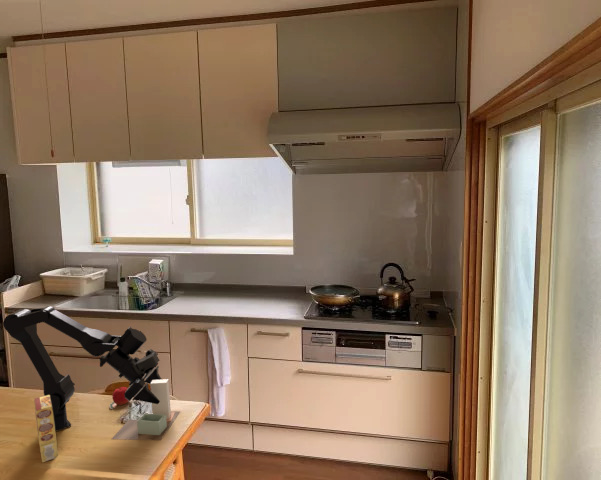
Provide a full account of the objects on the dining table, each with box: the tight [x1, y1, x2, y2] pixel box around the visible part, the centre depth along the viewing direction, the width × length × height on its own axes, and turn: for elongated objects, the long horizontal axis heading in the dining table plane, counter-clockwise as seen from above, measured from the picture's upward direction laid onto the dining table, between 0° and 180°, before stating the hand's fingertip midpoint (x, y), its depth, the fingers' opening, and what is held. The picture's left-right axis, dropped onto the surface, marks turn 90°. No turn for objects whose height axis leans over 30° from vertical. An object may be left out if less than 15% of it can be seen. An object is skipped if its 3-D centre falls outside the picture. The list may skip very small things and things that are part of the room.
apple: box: [108, 386, 129, 410], centre depth 154 cm, size 8×8×6 cm
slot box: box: [137, 413, 167, 435], centre depth 136 cm, size 7×5×4 cm, turn 80°
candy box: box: [33, 395, 59, 463], centre depth 127 cm, size 9×4×15 cm, turn 33°
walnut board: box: [111, 410, 181, 441], centre depth 139 cm, size 15×16×1 cm
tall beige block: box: [149, 378, 172, 419], centre depth 143 cm, size 5×3×12 cm, turn 93°
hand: (162, 395), depth 142 cm, fingers open, 9 cm apart
